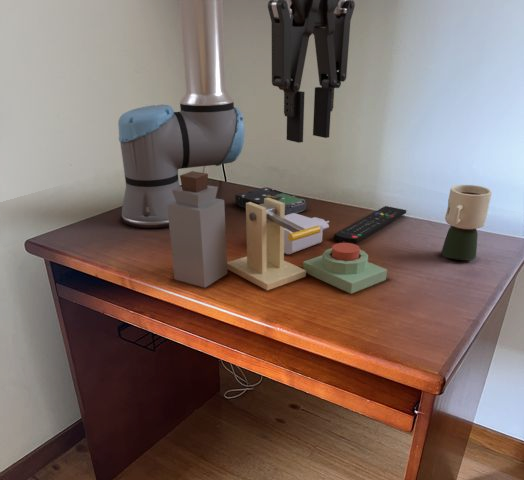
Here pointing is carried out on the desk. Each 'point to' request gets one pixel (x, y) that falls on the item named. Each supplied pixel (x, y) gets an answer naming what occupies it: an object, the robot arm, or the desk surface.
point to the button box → (345, 271)
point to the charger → (306, 241)
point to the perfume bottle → (197, 231)
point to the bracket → (265, 250)
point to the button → (345, 251)
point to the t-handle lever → (288, 224)
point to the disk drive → (257, 197)
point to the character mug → (465, 220)
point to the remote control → (368, 225)
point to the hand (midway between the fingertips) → (308, 138)
